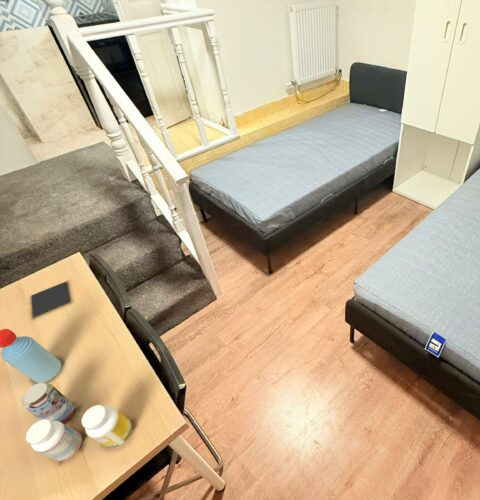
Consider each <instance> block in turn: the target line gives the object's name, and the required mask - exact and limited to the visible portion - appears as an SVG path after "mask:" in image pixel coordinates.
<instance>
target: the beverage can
mask: <svg viewBox="0 0 480 500" xmlns="http://www.w3.org/2000/svg"><path fill="white" fill-rule="evenodd" d="M21 401H22V407H23V408H24V409H25V410H26V411H28V412H29V413H31V414H32V415H33V416H34V417H36V418H37V419H38V421H40V420H43V419H47V420H49V421H59V422H61V423H63V424H65V425H67V424H68V423H69V422H70V421H71V420H72V419H73V417H74V415H76V412H77V411H76V409H77V408H76V406H75V405H74V404H73V403H72V402H71V401H70V400H69V399H68V398H67V397H66V396H65V395H64V394H63V393H62V392H61V391H60V390H58V388H56V387H55V386H54V385H53V384H51V383H46V382H43V383H35V384H33V385H32V386H31V387H29V388H28V389H27V390H26V391H25V392H24V393H23V395H22V397H21Z"/></svg>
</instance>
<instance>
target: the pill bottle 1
mask: <svg viewBox="0 0 480 500" xmlns="http://www.w3.org/2000/svg"><path fill="white" fill-rule="evenodd" d="M25 440H26V442H27V443H29V444H30V446H31V448H32V450H34V451H35V452H37V453H40V454H42V455H44V456H46V457H48V458H50V459H53V460H55V461H58V462H62V461H66V460H68V459H70V458H71V457H72V456H74V455H75V454H76V453H77V452H78V451H79V450H80V447H81V446H82V442H83V437H82V434H81V433H80V432H78V431H77V430H75V429H73V428H71V427H70V426H68V425H67V424H63V423H61V422H59V421H49V420H47V419H43V420H38V421H35V422H34V423H33V424H32V425H31V426H30V427H29V429H28V430H27V432H26V435H25Z"/></svg>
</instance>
